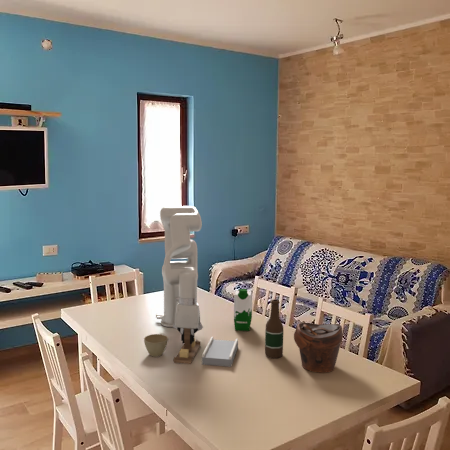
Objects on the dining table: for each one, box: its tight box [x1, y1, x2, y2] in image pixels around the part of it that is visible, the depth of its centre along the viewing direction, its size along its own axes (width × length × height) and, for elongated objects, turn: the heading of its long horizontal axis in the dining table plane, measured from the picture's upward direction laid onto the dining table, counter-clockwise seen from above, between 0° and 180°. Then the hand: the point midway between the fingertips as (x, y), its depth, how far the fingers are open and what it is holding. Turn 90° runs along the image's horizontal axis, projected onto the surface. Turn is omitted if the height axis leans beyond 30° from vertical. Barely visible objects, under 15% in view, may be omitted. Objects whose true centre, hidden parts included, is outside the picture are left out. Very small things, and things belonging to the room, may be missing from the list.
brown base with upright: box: [173, 328, 201, 365], centre depth 204 cm, size 19×7×14 cm, turn 171°
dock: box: [201, 336, 239, 368], centre depth 204 cm, size 12×20×4 cm, turn 171°
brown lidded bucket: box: [293, 322, 344, 374], centre depth 194 cm, size 18×20×18 cm
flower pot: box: [143, 333, 169, 358], centre depth 204 cm, size 10×10×7 cm
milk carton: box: [233, 288, 253, 332], centre depth 236 cm, size 9×9×20 cm
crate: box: [179, 348, 189, 358], centre depth 199 cm, size 3×3×3 cm
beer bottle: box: [264, 299, 284, 359], centre depth 204 cm, size 8×8×24 cm
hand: (187, 342), depth 205 cm, fingers closed on brown base with upright, 2 cm apart
